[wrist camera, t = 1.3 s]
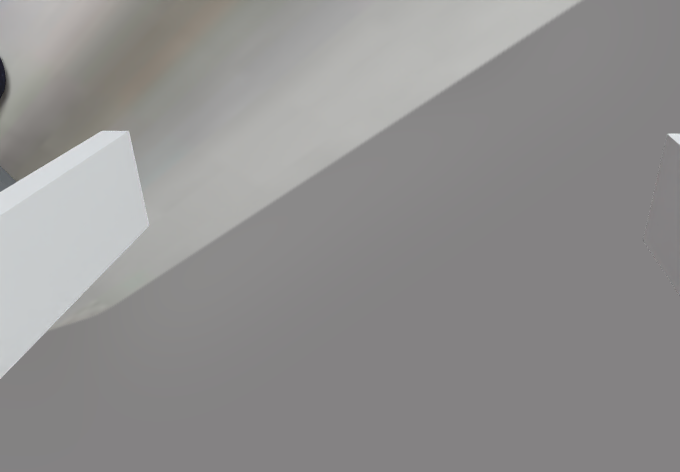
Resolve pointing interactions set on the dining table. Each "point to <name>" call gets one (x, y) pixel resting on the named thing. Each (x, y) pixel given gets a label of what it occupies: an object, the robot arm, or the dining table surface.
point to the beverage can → (2, 78)
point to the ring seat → (5, 180)
